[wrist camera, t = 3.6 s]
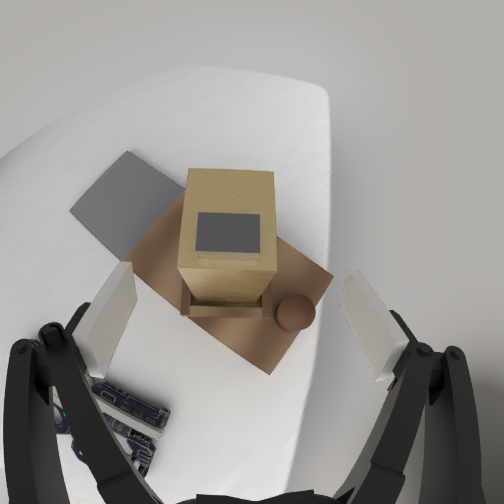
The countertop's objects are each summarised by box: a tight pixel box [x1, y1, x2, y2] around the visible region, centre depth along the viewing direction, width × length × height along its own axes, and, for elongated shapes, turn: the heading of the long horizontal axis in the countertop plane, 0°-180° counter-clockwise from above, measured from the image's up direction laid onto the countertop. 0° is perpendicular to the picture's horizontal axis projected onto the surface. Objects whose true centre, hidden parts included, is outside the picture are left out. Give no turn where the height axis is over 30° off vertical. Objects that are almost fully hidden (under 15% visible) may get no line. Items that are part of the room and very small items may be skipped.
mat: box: [70, 151, 186, 261], centre depth 30 cm, size 11×11×1 cm
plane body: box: [123, 191, 334, 375], centre depth 26 cm, size 17×11×6 cm
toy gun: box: [30, 339, 170, 478], centre depth 21 cm, size 3×20×15 cm
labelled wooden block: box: [177, 168, 277, 304], centre depth 19 cm, size 5×6×12 cm
